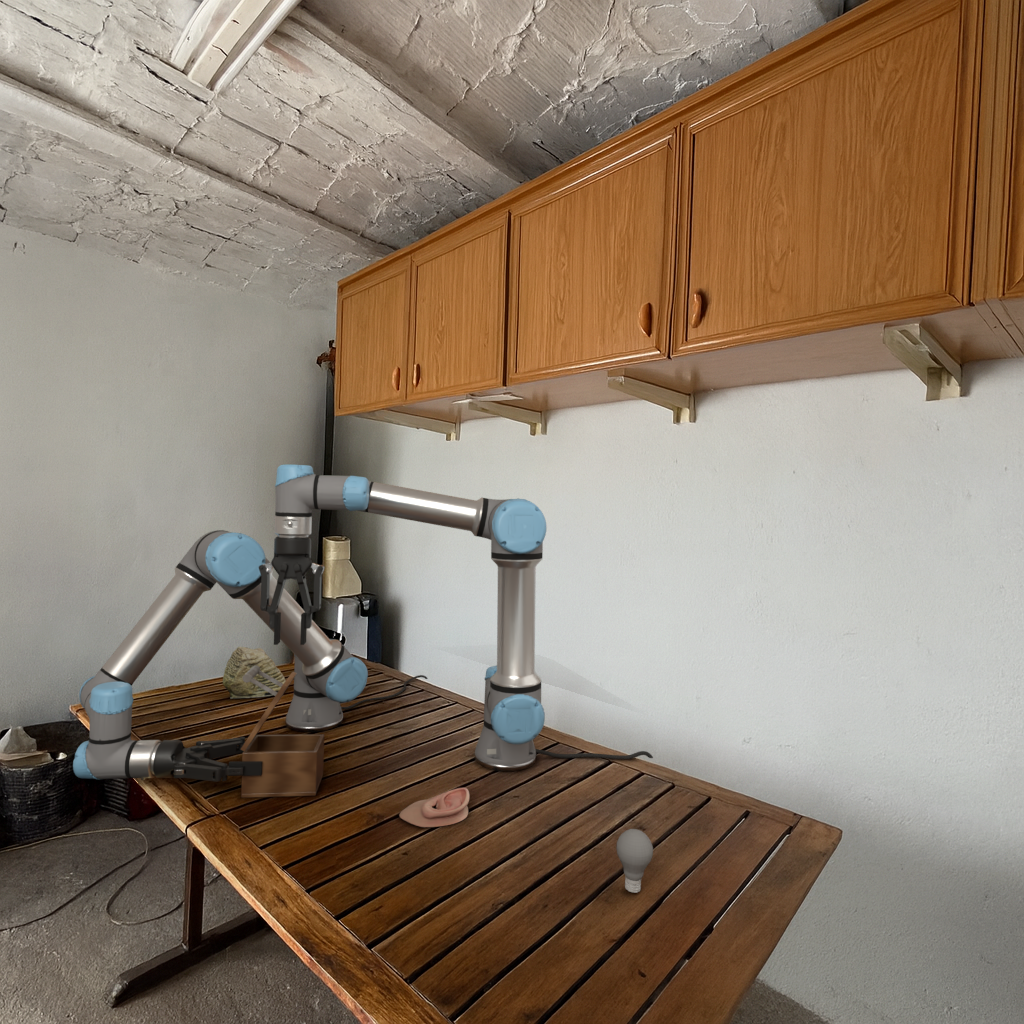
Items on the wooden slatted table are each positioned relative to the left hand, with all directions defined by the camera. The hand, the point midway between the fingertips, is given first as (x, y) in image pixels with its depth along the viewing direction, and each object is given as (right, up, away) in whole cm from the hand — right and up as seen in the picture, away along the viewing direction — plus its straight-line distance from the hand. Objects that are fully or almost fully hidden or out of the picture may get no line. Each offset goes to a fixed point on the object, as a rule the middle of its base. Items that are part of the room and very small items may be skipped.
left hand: (268, 757), depth 137 cm
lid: (+1, +10, 0) cm, 10 cm away
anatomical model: (+37, -8, -9) cm, 39 cm away
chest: (+3, -6, +1) cm, 7 cm away
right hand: (+5, +25, 0) cm, 25 cm away
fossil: (-28, -4, +61) cm, 67 cm away
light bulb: (+73, -10, -32) cm, 80 cm away
